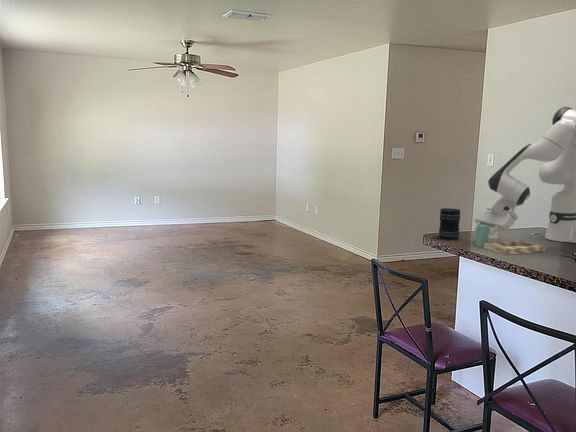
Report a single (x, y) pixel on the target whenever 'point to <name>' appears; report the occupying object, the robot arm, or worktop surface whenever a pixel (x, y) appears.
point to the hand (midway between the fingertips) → (483, 232)
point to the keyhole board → (514, 247)
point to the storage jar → (449, 224)
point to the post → (481, 235)
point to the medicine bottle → (494, 234)
